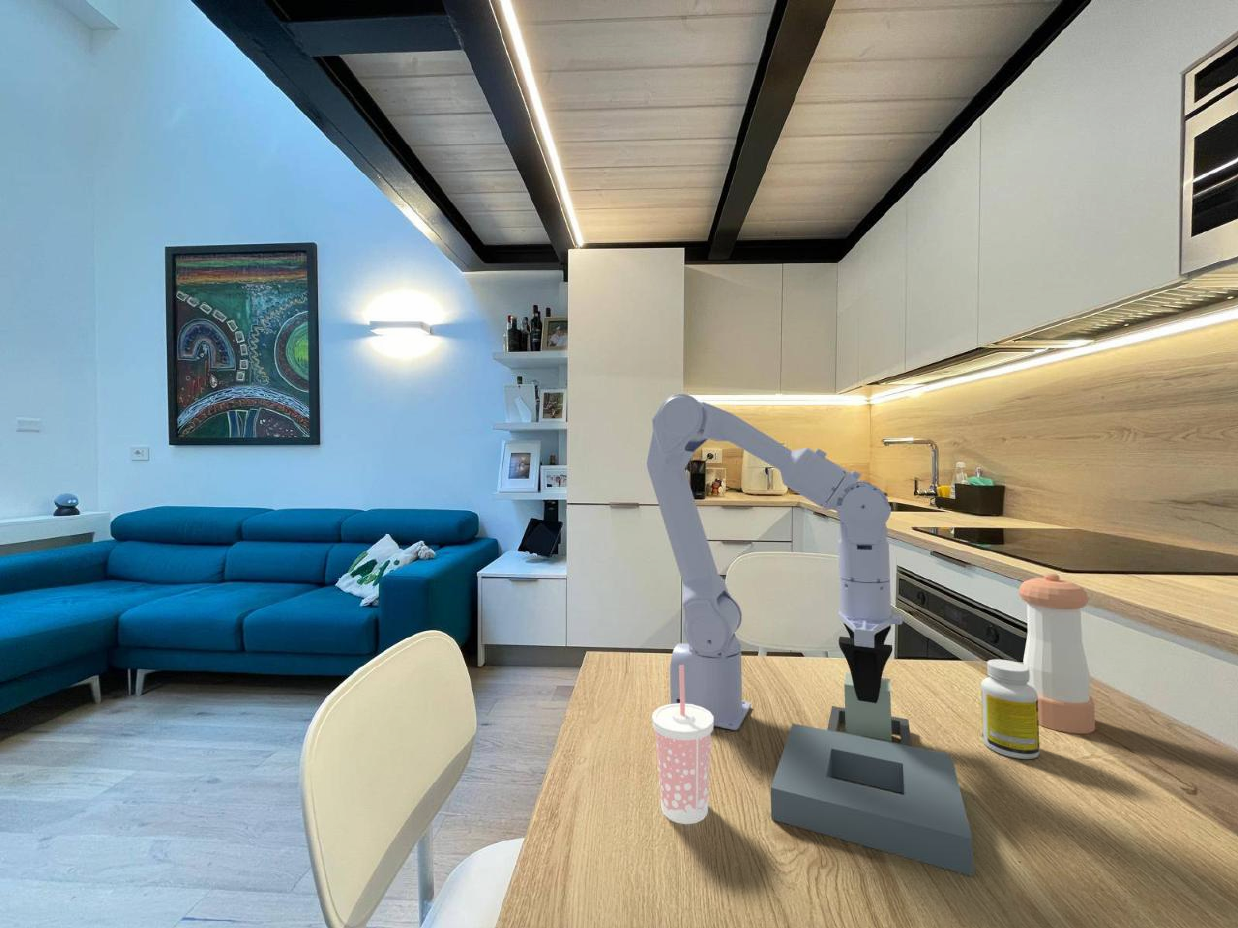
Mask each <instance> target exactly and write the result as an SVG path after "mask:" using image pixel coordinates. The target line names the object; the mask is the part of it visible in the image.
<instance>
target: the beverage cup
mask: <svg viewBox="0 0 1238 928" xmlns="http://www.w3.org/2000/svg"><path fill="white" fill-rule="evenodd" d="M679 677H680V703H676V704H671V703H669V704H665V705H662V706H659V707H658V708H657V709H655V710H654V711H653V713H652V716H651V721H652V728H653V729H654V731H655V744H656V745H655V746H656V747H655V748H656V757H657V769H658V782H659V795H660V797H659V798H660V807H661V811H662V813H663V815H664V816H665V818H667V819H668V820H669V821H672V822H674V823H676V824H677V823H678V824H682V825H683V824H684V825H691V824H692V825H693V824H697V823H699V822H701V821H703V820H704V819H705V818H707V815H708V812H709V795H710V794H709V792H710V791H709V790H710V789H709V788H710V767H711V766H710V764H711V763H710V762H711V736H712V735H711V734H712V732H713V731H714V726H713V722H714V716H713V715H712V714H711V712H710V711H708V710H706V709H705V708H703V707H700V706H697V705H693V704H685V689H684V665H679Z"/></svg>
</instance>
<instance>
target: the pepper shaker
mask: <svg viewBox="0 0 1238 928" xmlns="http://www.w3.org/2000/svg"><path fill="white" fill-rule="evenodd" d="M1018 594H1019V596H1020V598H1021V599H1022V601H1024V602H1025V603H1026V612H1027V613H1026V614H1027V615H1026V616H1027V617H1026V620H1027V622H1026V623H1027V635H1026V637H1027V638H1026V642H1025V649H1024V654H1023V660H1022V661H1023V665H1025V666H1027V667H1028V668H1029V675H1030V679H1029V682H1027V684H1028V685H1030V686H1031V687H1033V688H1034V690H1035V691H1036V693H1037V696H1038V720H1039V726H1041V727H1044V728H1048V729H1051V730H1055V731H1059V732H1062V733H1069V734H1076V735H1077V734H1079V735H1081V734H1090V733H1093V732H1094V731H1095V730H1096V720H1095V719H1096V714H1095V702H1094V699H1093V698H1092V697H1091V696H1090V695H1091V693H1090V689H1091V687H1090V679H1091V677H1090V675H1091V673H1090V668H1089V665H1088V661H1087V656H1086V652H1085V649H1084V644H1083V643H1084V642H1083V633H1082V631H1083V630H1082V628H1083V627H1082V614H1081V613H1082V612H1081V609H1083V608H1086V606H1087V605H1088V602H1089V599H1090V598H1089V596H1088V594H1087V592H1086V591H1085V589H1084V588H1083V587H1082V586H1081V585H1079V584H1077V583H1074V582H1072V581H1070V580H1066V579H1061V577H1060V576H1059V575H1058V574H1056V573H1053V572H1048V573H1045V574H1044V575H1043V577H1033V578H1031V579H1028V580H1025V581H1023V582H1022V583H1021V584H1020V586H1019V590H1018Z"/></svg>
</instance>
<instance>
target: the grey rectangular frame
mask: <svg viewBox="0 0 1238 928" xmlns="http://www.w3.org/2000/svg"><path fill="white" fill-rule="evenodd" d="M841 723H844V724H845V707H840V706H834V705H832V706H831V708H830V715H829V719H828V724H827V727H826V730H829V731H834V732H839V733H844V734H850V733H846V731H845V732H843V731H839V730H840V725H841ZM891 731H892V733H897V734H899V735H900V736H899V737H900V742H895V741H892V742H891V741H886V740H880V739H875V738H870V737H865V736H860V735H855V734H850V735H855V736H860V737H865V738H870V739H875V740H880V741H885V742H890V743H896V744H901V745H906V746H911V747H913V746H912V738H911V730H910V722H909V718H904V717H903V718H902V717H897V716H892V715H891Z"/></svg>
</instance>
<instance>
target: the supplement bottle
mask: <svg viewBox="0 0 1238 928" xmlns="http://www.w3.org/2000/svg"><path fill="white" fill-rule="evenodd" d="M986 669H987V674H988V676H989V677H986V678H984V679H983V680H982V681H981V684H980V696H981V698H980V700H981V704H980V705H981V733H982V734H981V736H982V737H981V738H982V741H983V742H982V743H984V745H986V747H988V748H989V749H990V750H992V751H994V752H996V753H998V754H1000V755H1003V756H1005V757H1009V758H1012V759H1013V758H1015V759H1020V760H1031V759H1032V760H1033V759H1036V758H1037V757H1039V756H1040V729H1039V727H1040V725H1039V720H1038V696H1037V693H1036V691H1035V690H1034V688H1033V687H1031V686H1030V685H1028V684H1027V682H1029V679H1030V675H1029V668H1028V667H1027V666H1025V665H1024V663H1020V662H1017V661H1013V660H1006V659H989V660H988V661H987V666H986Z"/></svg>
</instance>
